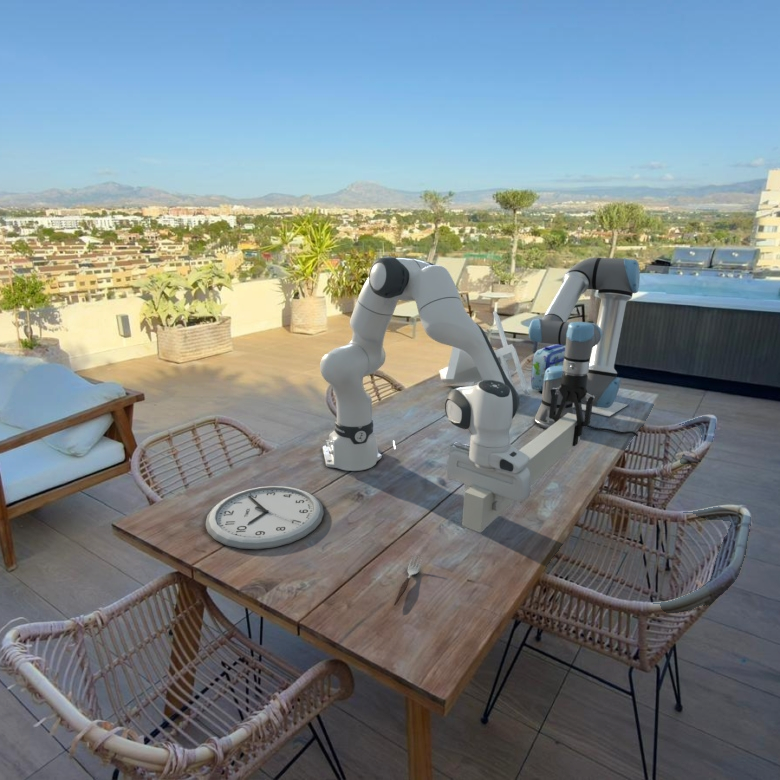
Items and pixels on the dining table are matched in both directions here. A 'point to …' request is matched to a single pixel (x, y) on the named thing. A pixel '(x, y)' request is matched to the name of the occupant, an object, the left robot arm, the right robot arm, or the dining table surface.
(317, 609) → the dining table surface
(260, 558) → the dining table surface
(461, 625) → the dining table surface
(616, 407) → the invitation card
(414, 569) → the fork
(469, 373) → the white plastic object
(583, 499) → the dining table surface
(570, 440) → the post
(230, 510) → the wall clock
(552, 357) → the lunch box
